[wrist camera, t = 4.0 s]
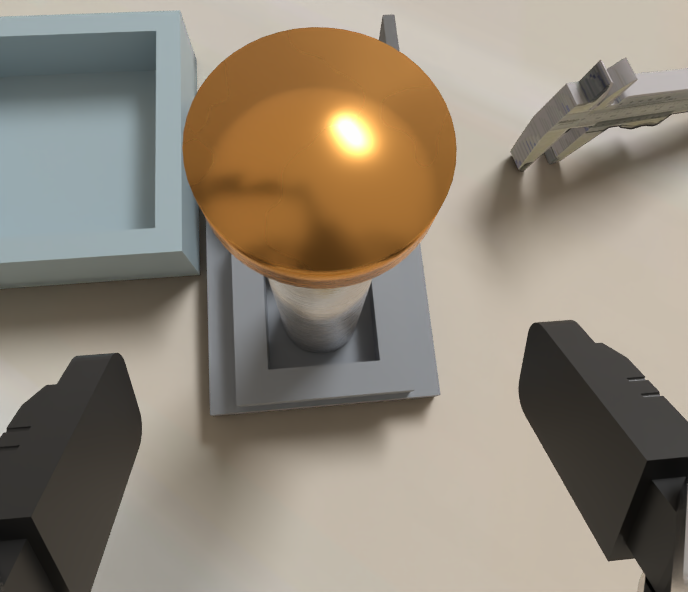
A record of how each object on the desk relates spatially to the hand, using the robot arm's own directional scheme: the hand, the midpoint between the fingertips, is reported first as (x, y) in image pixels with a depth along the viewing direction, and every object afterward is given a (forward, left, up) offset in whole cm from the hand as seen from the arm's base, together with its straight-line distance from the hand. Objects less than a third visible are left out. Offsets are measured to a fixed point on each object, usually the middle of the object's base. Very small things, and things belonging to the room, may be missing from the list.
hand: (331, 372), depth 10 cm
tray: (-10, +11, -11) cm, 19 cm away
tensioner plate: (0, +7, -11) cm, 13 cm away
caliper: (+20, +12, -12) cm, 26 cm away
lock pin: (0, +3, -10) cm, 11 cm away
